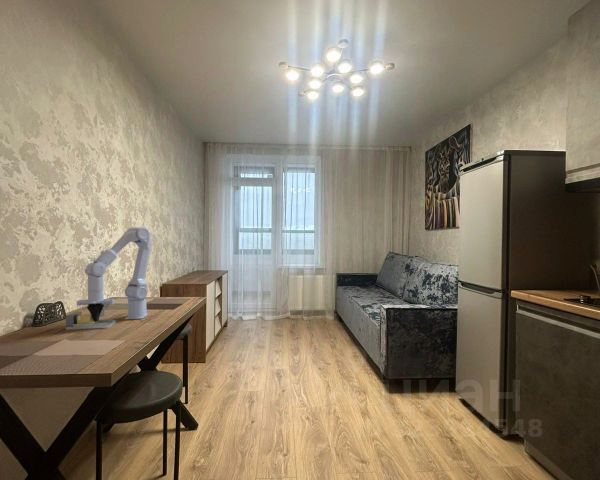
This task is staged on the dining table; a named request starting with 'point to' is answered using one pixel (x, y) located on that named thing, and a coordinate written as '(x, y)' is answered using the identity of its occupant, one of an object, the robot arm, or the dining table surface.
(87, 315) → the block
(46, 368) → the dining table surface
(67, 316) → the anvil
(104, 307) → the lighter
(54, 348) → the dining table surface
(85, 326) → the grey flat tray
